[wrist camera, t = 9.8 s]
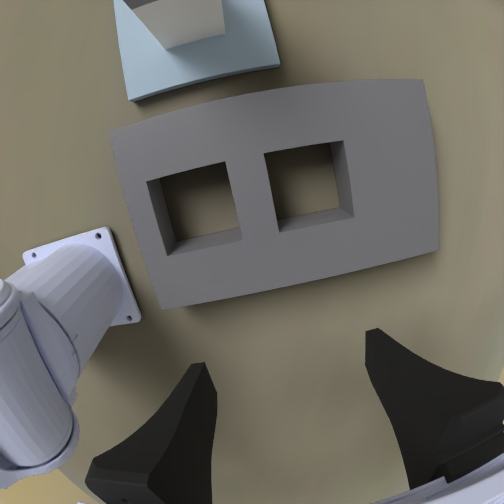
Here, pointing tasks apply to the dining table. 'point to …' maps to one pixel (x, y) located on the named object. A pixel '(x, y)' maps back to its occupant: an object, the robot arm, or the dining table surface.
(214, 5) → the plug
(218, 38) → the pad
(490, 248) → the dining table surface
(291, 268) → the gray socket board
